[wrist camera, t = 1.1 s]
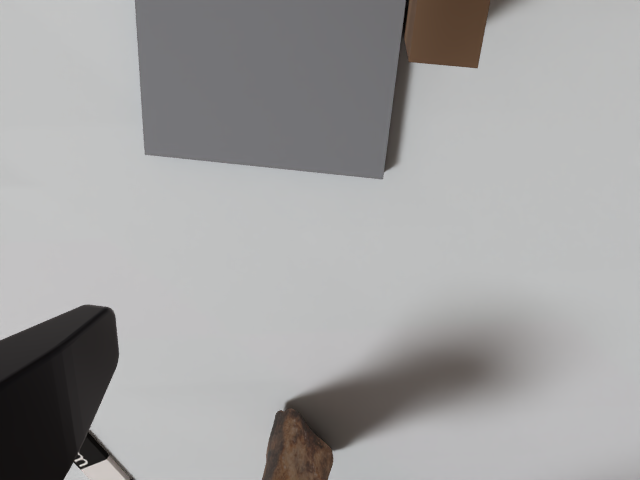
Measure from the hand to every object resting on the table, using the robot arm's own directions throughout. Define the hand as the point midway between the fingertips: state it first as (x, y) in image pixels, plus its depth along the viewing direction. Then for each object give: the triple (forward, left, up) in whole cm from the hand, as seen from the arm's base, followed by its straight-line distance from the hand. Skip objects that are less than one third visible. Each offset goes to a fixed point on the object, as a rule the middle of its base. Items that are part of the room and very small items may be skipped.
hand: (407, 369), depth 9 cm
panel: (+4, -3, -12) cm, 13 cm away
